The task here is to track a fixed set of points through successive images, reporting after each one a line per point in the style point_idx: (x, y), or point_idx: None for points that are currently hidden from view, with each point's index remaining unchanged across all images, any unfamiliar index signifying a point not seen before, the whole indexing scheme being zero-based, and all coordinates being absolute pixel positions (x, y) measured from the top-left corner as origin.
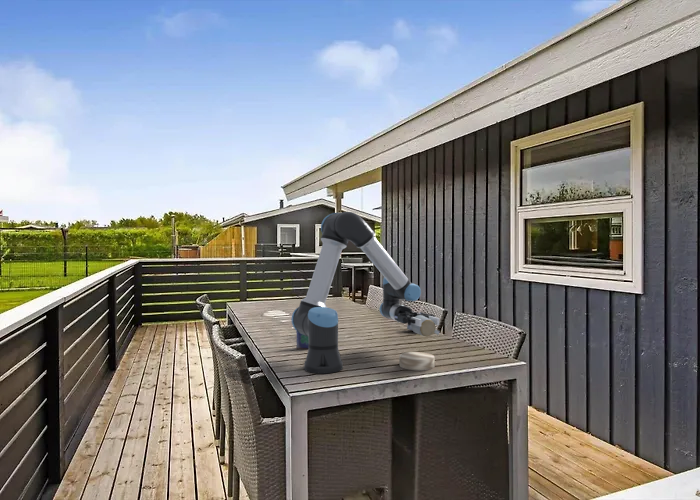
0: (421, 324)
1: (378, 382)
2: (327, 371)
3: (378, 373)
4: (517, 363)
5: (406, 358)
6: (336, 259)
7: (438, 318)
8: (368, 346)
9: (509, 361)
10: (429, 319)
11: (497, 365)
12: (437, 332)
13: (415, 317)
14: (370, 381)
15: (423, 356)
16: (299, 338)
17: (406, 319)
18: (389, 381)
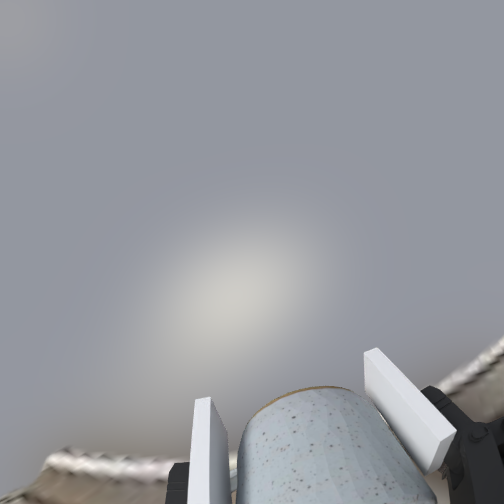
0: (361, 397)
1: (477, 361)
2: None
3: (499, 414)
4: (55, 458)
5: (426, 478)
6: None
7: (202, 399)
8: None
9: (51, 475)
10: (281, 401)
11: (99, 469)
12: (231, 479)
13: (406, 483)
14: (494, 361)
15: None
16: None
17: (494, 425)
18: (456, 372)
